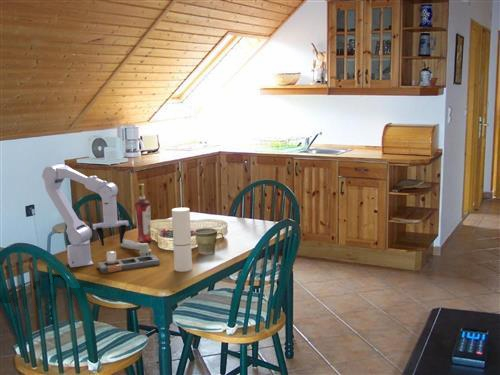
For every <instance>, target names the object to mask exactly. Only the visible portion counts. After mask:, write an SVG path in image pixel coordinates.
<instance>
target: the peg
mask: <svg viewBox="0 0 500 375" xmlns="http://www.w3.org/2000/svg"><path fill="white" fill-rule="evenodd" d="M117 260H118V259H117V251H116V250H109V251H106V261H107V266H111V265H117Z"/></svg>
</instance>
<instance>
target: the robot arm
mask: <svg viewBox="0 0 500 375" xmlns="http://www.w3.org/2000/svg"><path fill="white" fill-rule="evenodd" d="M41 178H42V179H43V181H44V188H45V190H46V192H47V195H48V196H49V198H50V199H51V201H52V203H53V205H54V207H56V209H57V212H58V213H59V215H60V216H61V218H62V220H63V221H64V223H65V225H66V226H67V227H66V231H65V233H66V234H67V236H68V237H67V238H68V241H69V242H70V244H68V245H67V246H66V253H67V263H68V265H69V267H70V268H77V267H84V266H85V267H87V266H92V265H94V261H92V255H91V254H92V253H91V245H90V244H91V243H90V242H91V240H90V239H91V238H92V236H93V232H92V231H93V230H95V232H97V235H98V238H99V240H100V244H101V246H102V247H104V246H105V241H104V240H105V239H104V230H103V229H108V228H115V227H116V228H117V227H118V231H119V244H120V243H123V239H124V236H125V233H126V231H127V228H128V226H130V224H129V220H118V207H117V206H118V204H117V195H118V193H119V187H118V185H117V184H115V182H112V181H111V182H108V181H106V180H102V179H100V178H98V176H97V175H90V176H86V175H85V174H83V173H81V172H80V171H77V170H76V169H73V168H71V167H70V166H69V165H66V164H63V163H57V164H53V165H49V166H46V167H44V169H43V171H42V175H41ZM65 179H70V180H72V181H75V182H77V183H80V184H83V185H84V187H85V188H86V189H87V190H89V191H92V192H94V193H96V194H98V195H99V196H100V197H101V203H102V215H103V216H102V219H103V222H98V223H92V229H93V230H92V229H91V228H90V226H88V225H87V224H86V223H85V221H83V220H80V219H79V217H78V216H77V213H76V212H75V211H74V208H73V207H72V205H71V203H70V201H69V200H68V199H67V197H66V195H65V193H64V192H63V191H62V188H61V186H62V183H63V181H64V180H65Z"/></svg>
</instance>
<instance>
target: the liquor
mask: <svg viewBox="0 0 500 375" xmlns="http://www.w3.org/2000/svg"><path fill="white" fill-rule="evenodd" d="M145 189H146V188H145V184H144V183H138V190H139V192H138V193H139V195H138V198H139V200H137V201H135V203H134V209H135V210H134V211H135V217H136V218H135V219H136V229H137V241H138V242H139V243H142V244H143V243H148V244H149V243H150V242H151V241H152V239H153V238H152V234H151V232H152V230H151V229H152V227H151V224H152V223H151V212H152V211H151V202H150V201H149V200H146V194H145Z"/></svg>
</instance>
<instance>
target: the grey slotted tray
mask: <svg viewBox="0 0 500 375" xmlns="http://www.w3.org/2000/svg"><path fill="white" fill-rule="evenodd" d="M160 264H161V263H160V259H159V258H158V257H157V256H156V255H155V254H151V255H148V256H141V257H140V256H135V257H134V256H133V257H129V258H122V259H117V265H111V266H107V260H106V261H101V262H97V268H98V270H99V271H100V272H101V274H107V273H113V272H120V271H121V272H122V271H126V270H132V269H138V268H146V267H153V266H154V267H155V266H160Z"/></svg>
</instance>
